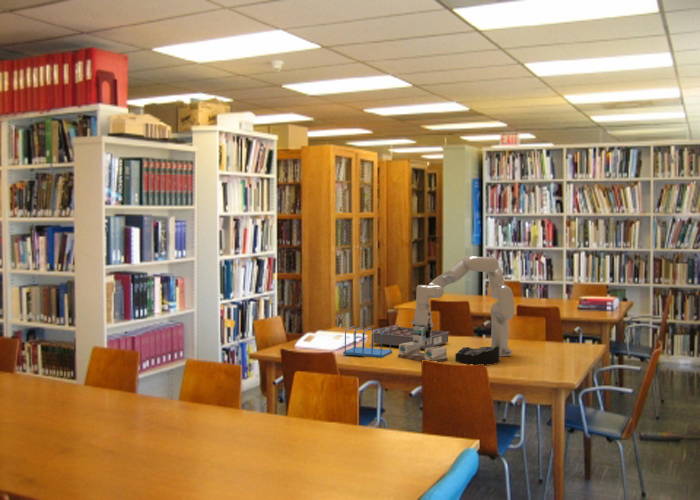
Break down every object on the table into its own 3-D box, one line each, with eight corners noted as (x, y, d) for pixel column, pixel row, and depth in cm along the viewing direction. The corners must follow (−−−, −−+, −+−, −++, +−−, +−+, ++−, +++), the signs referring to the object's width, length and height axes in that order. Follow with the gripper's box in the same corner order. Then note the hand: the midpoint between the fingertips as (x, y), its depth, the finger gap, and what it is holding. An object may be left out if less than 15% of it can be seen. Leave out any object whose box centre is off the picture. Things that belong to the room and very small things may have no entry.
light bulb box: (422, 346, 407) (422, 327, 406) (412, 345, 411) (412, 326, 410) (432, 343, 415) (432, 325, 415) (422, 342, 419) (422, 324, 419)
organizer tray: (426, 351, 437) (426, 335, 437) (371, 345, 460) (371, 329, 459) (449, 344, 464) (449, 328, 463) (396, 338, 486) (396, 323, 486)
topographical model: (489, 356, 423) (489, 339, 422) (506, 364, 398) (506, 346, 398) (449, 357, 418) (449, 340, 417) (464, 366, 394) (464, 348, 393)
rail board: (447, 360, 409) (447, 347, 408) (431, 363, 399) (431, 350, 399) (413, 354, 428) (413, 341, 427) (397, 357, 418) (397, 344, 418)
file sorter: (343, 354, 426) (343, 329, 425) (354, 350, 442) (354, 325, 441) (382, 358, 416) (382, 332, 415) (392, 353, 432) (392, 327, 431)
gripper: (438, 307, 408) (438, 338, 409) (415, 304, 421) (415, 334, 422) (430, 308, 403) (429, 339, 404) (407, 305, 416) (407, 335, 417)
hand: (422, 336), depth 413 cm, fingers closed on light bulb box, 7 cm apart
